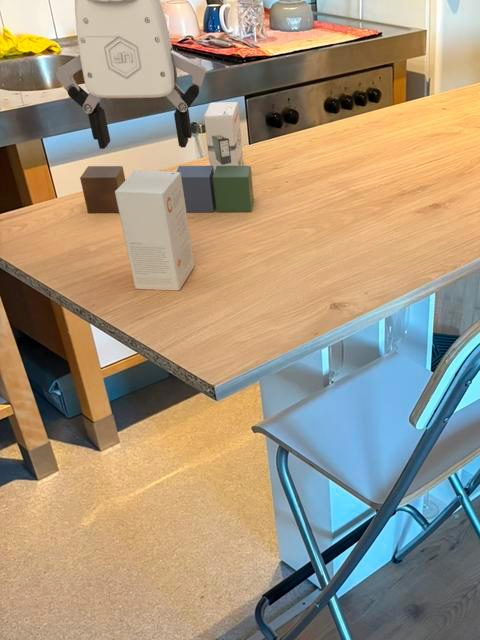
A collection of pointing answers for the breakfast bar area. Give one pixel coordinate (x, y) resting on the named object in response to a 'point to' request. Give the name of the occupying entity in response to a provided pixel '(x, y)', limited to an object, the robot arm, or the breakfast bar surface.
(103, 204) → the block
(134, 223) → the small box
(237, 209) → the block
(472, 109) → the breakfast bar surface
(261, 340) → the breakfast bar surface
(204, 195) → the block
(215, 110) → the ink box
